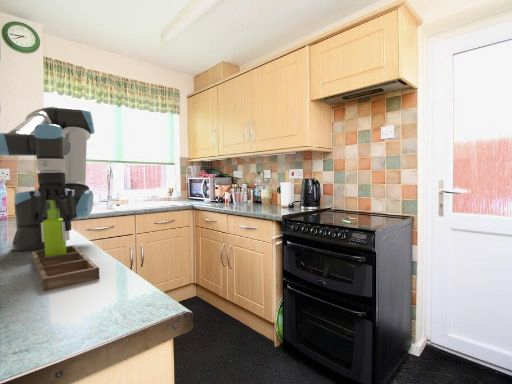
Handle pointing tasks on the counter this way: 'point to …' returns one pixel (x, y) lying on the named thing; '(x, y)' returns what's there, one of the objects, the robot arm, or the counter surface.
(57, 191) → the robot arm
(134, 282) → the counter surface
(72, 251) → the pocket rack
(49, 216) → the soap dispenser
